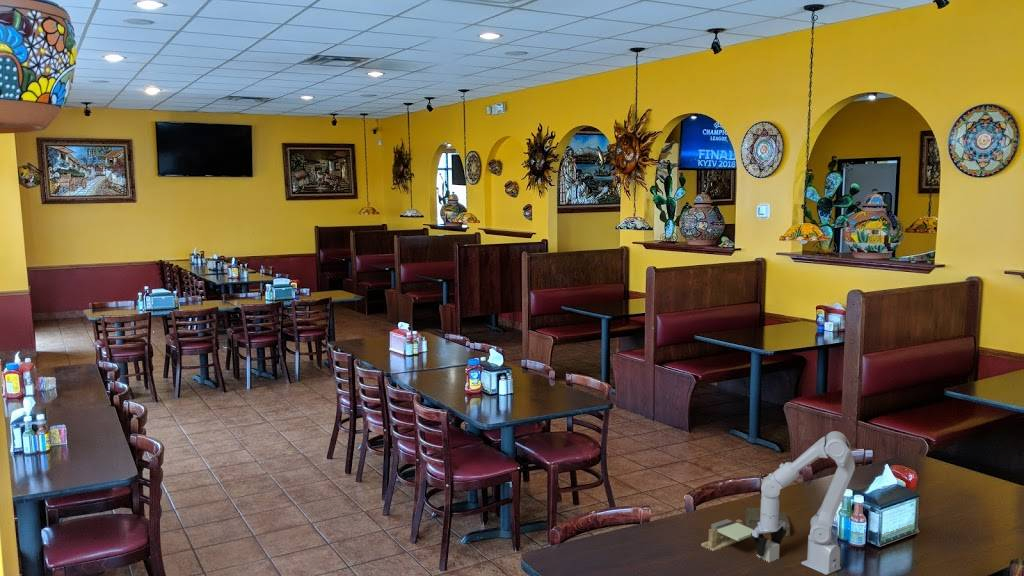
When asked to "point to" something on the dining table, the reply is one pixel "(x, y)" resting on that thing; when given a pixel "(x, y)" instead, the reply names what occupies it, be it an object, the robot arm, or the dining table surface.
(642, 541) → the dining table surface
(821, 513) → the robot arm
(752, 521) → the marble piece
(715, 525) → the trapdoor
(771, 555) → the white cube
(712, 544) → the frame
